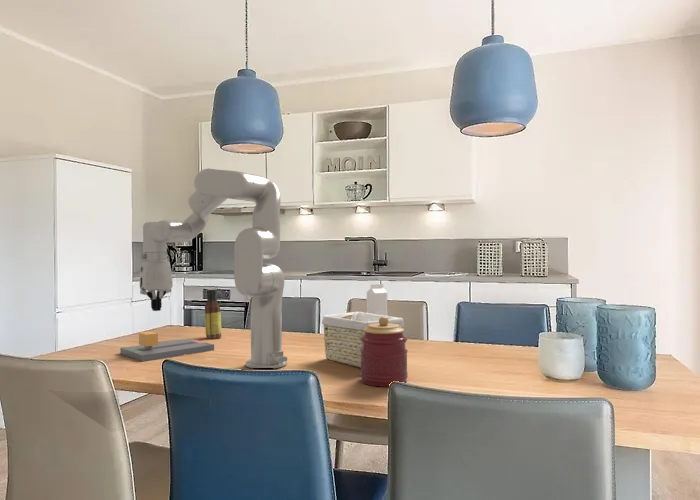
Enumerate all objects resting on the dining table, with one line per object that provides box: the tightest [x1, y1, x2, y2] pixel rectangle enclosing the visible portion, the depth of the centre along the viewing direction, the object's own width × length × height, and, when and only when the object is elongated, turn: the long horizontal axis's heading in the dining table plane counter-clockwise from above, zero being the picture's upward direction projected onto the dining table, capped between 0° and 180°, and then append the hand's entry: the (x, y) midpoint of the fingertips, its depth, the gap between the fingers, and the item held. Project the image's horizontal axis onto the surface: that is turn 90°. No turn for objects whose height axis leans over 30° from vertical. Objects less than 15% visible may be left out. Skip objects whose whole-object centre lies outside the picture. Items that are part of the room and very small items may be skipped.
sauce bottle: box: [204, 288, 222, 340], centre depth 211 cm, size 6×6×20 cm
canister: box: [359, 317, 409, 387], centre depth 142 cm, size 13×13×18 cm
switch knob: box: [138, 330, 159, 349], centre depth 178 cm, size 6×4×5 cm, turn 45°
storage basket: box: [321, 311, 405, 369], centre depth 167 cm, size 24×16×15 cm
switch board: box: [119, 338, 215, 363], centre depth 183 cm, size 18×26×2 cm
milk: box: [366, 283, 388, 316], centre depth 206 cm, size 6×6×22 cm
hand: (156, 310), depth 180 cm, fingers closed
